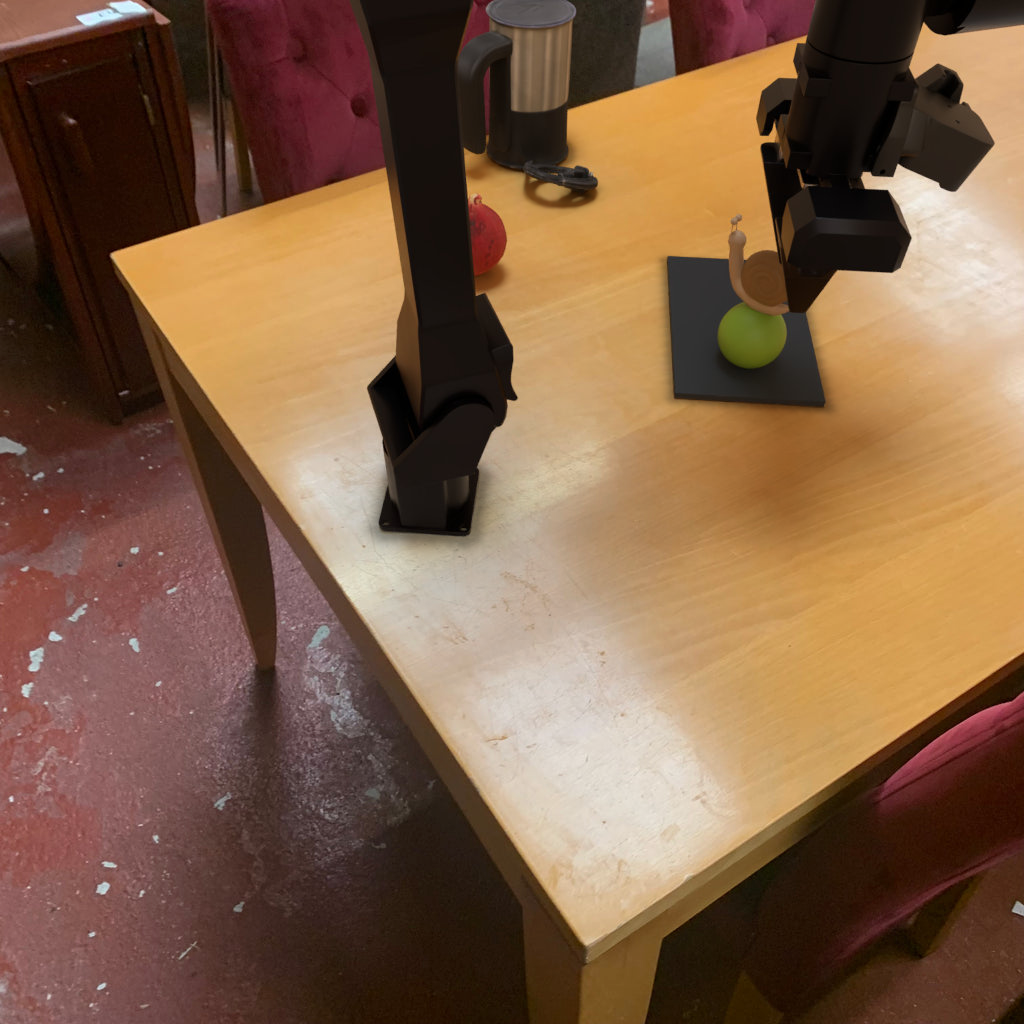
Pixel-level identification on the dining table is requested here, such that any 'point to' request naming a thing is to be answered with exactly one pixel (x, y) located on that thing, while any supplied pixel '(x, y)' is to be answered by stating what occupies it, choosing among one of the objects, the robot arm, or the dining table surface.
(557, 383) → the dining table surface
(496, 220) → the onion
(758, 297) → the snail figurine
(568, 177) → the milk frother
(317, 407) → the dining table surface
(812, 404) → the mat
